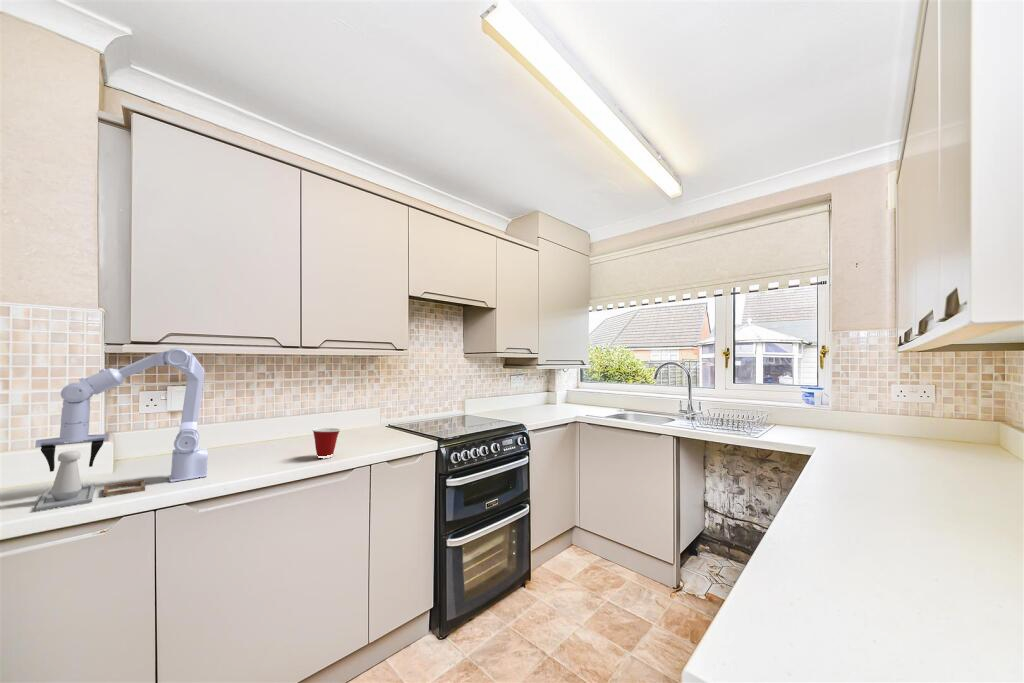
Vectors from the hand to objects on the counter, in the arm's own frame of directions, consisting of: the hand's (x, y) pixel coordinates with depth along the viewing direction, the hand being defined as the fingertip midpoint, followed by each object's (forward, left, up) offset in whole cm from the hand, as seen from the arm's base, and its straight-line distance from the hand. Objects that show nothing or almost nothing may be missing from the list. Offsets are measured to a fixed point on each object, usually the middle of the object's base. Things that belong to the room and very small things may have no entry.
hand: (71, 468), depth 116 cm
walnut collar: (-12, +7, -7) cm, 15 cm away
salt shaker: (0, +8, -7) cm, 10 cm away
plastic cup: (-71, +5, -7) cm, 72 cm away
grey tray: (0, +7, -7) cm, 10 cm away
